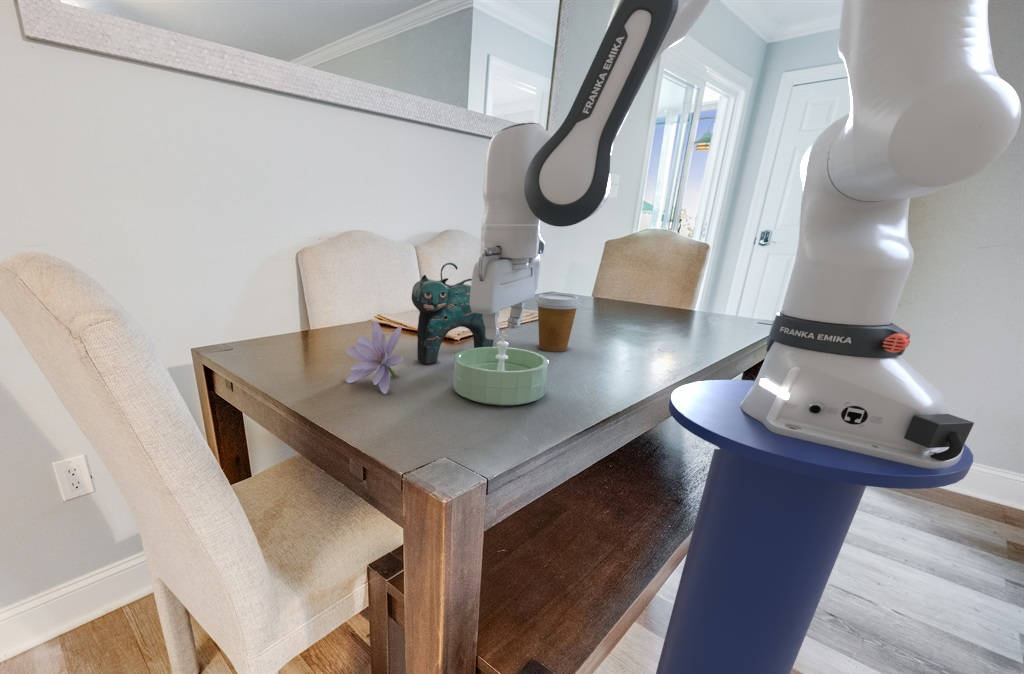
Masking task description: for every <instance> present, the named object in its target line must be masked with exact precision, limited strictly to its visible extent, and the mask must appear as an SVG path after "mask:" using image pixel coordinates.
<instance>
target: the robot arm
mask: <svg viewBox="0 0 1024 674" xmlns="http://www.w3.org/2000/svg"><path fill="white" fill-rule="evenodd" d="M710 2H711V0H614V2H613V5H612V9H611V12H610V16H609V19H608V22H607V25H606V29H605V32H604V35H603V38H602V40H601V42H600V45H599V47H598V49H597V51H596V53H595V56H594V57H593V60H592V62H591V64H590V66H589V68H588V71H587V73H586V75H585V77H584V79H583V82H582V83H581V86H580V88H579V90H578V92H577V95H576V96H575V99H574V101H573V103H572V105H571V107H570V109H569V111H568V114H567V115H566V117H565V119H564V120H563V122H562V123H561V125H560V126H559V128H558V129H557V130H556V131H555V132H554V133H551V132H550V131H548V130H547V129H545V128H544V126H543V125H542V124H540V123H537V122H522V123H517V124H513V125H509V126H506V127H504V128H502V129H501V130H499V131H498V132H496V133H495V134H494V135H493V136H492V137H491V138H490V141H489V143H488V146H487V149H486V155H485V162H484V171H483V184H482V198H483V204H484V212H483V216H482V219H481V226H480V250H479V253H480V254H479V257H478V260H477V261H476V262H475V263H474V266H473V268H472V269H473V270H472V275H471V279H472V281H470V282H471V283H470V285H471V291H470V308H471V311H472V312H473V313H480V314H483V316H482V318H483V322H484V325H485V328H486V331H485V337H486V338H487V339H491V340H494V341H495V340H496V339H499V338H498V337H499V335H500V330H501V329H500V328H501V327H499V324H498V318H499V316H500V312H501V311H503V310H505V309H508V308H510V313H509V317H507V327H508V328H509V329H514V330H516V329H518V328H520V326H521V321H522V315H523V313H524V310H525V307H526V305H525V304H526V302H527V301H530V300H531V299H534V298H535V295H536V293H537V289H538V284H539V277H540V271H541V256H543V255H544V254H545V248H546V243H545V241H544V240H543V238H542V237H541V234H540V230H541V229H540V227H541V222H542V223H544V224H546V225H549V226H553V227H561V228H562V227H563V228H564V227H571V226H574V225H576V224H580V223H581V222H583V221H585V220H588V219H589V218H590V217H592V216H594V215H595V214H597V212H599V211H600V209H601V208H602V207H603V205H605V203H606V201H607V200H608V197H609V193H610V191H611V187H612V186H611V184H612V180H611V174H610V173H611V156H612V151H613V148H614V146H615V145H614V144H615V142H616V139H617V137H618V134H619V132H620V130H621V128H622V127H623V125H624V122H625V120H626V119H627V116H628V114H629V112H630V110H631V107H632V106H633V104H634V102H635V100H636V98H637V97H638V94H639V92H640V90H641V89H642V86H643V83H644V82H645V80H646V78H647V76H648V74H649V73H650V71H651V70H652V68H653V66H654V65H655V63H656V62H657V60H658V59H659V58H660V57H661V56H662V55H663V54H664V53H665V51H667V50H668V49H669V48H671V47H673V46H675V45H677V44H679V43H680V42H681V41H683V40H684V39H685V38H686V37H687V36H688V34H689V33H690V32H691V31H692V30H693V28H694V27H695V25H696V23H697V22H698V21H699V19H700V18H701V16H702V15H703V13H704V12H705V11H706V8H707V7H708V6H709V3H710ZM837 53H838V55H839V57H840V58H841V60H842V61H843V62H844V65H845V69H846V73H847V79H848V89H849V97H850V98H849V99H850V111H849V113H847V114H844V115H843V116H842V117H840V118H838V119H836V120H835V121H834V122H832V123H831V124H830V125H828V126H827V127H826V128H825V129H824V130H823V131H822V132H821V133H820V134H819V135H818V136H817V137H816V138H815V139H814V140H813V142H812V143H811V144H810V145H809V146H808V147H807V150H806V151H805V153H804V155H803V157H802V160H801V163H800V169H799V172H800V179H801V182H802V195H801V203H800V206H801V207H800V214H799V215H800V216H799V230H798V242H797V249H796V254H795V258H794V263H793V266H792V271H791V273H790V277H789V281H788V284H787V288H786V292H785V296H784V299H783V302H782V305H781V310H780V311H777V313H776V314H775V318H774V320H773V321H772V323H771V326H770V330H769V334H768V338H767V340H766V341H767V342H766V349H765V351H766V352H767V353H766V355H765V357H764V361H763V363H762V364H761V367H760V369H759V371H758V374H757V376H756V378H755V380H754V381H755V382H754V384H753V385H752V387H751V389H750V391H749V392H748V394H747V395H746V397H745V398H744V400H743V401H742V402H741V404H740V406H741V409H742V410H743V411H744V412H745V413H747V414H748V415H749V416H751V417H753V418H755V419H757V420H758V421H760V422H762V423H763V424H764V426H765V427H766V428H767V429H768V430H770V431H771V432H773V433H776V434H780V435H784V436H788V437H793V438H797V439H801V440H805V441H810V442H814V443H818V444H823V445H827V446H831V447H835V448H840V449H844V450H848V451H853V452H857V453H861V454H865V455H870V456H874V457H878V458H883V459H887V460H891V461H896V462H900V463H904V464H908V465H913V466H917V467H922V468H927V469H940V468H947V467H950V466H953V465H955V464H956V463H958V462H959V460H960V459H961V456H962V453H963V449H964V447H963V445H964V444H965V443H966V441H967V439H968V437H969V435H970V433H971V431H972V429H973V426H974V424H975V422H974V421H971V420H969V419H965V418H962V417H959V416H956V415H954V414H953V415H952V414H950V413H948V406H947V401H946V399H945V396H944V394H943V393H942V391H941V390H939V389H938V388H937V387H936V386H935V385H933V384H932V382H930V381H929V380H928V379H926V377H925V376H923V375H922V374H921V373H920V372H919V371H918V370H916V369H915V368H914V367H913V366H912V365H911V364H910V363H909V362H907V361H906V360H905V359H904V358H903V357H902V356H903V354H904V353H905V351H906V349H907V348H908V346H909V345H910V343H911V340H910V337H911V332H910V331H909V330H908V329H905V330H904V329H903V328H901V327H899V326H898V325H897V324H895V323H893V319H894V316H895V313H896V311H897V308H898V305H899V303H900V299H901V298H902V295H903V291H904V289H905V286H906V284H907V281H908V278H909V276H910V273H911V271H912V268H913V266H914V261H915V251H914V248H913V246H912V245H911V242H910V237H909V212H910V204H911V199H916V198H921V197H924V196H928V195H931V194H934V193H937V192H939V191H942V190H944V189H948V188H950V187H952V186H954V185H957V184H959V183H961V182H964V181H965V180H968V179H970V178H972V177H974V176H976V175H977V174H979V173H981V172H982V171H984V170H985V169H987V168H988V167H990V165H992V164H993V163H994V162H995V161H996V160H998V159H999V157H1000V156H1002V155H1003V153H1004V152H1005V151H1006V150H1007V148H1009V146H1010V144H1011V143H1012V142H1013V140H1014V139H1015V136H1016V134H1017V132H1018V130H1019V127H1020V123H1021V119H1022V103H1021V100H1020V96H1019V95H1018V93H1017V91H1016V90H1015V89H1014V87H1013V86H1012V85H1011V84H1010V83H1008V82H1007V81H1005V80H1004V79H1003V78H1002V77H1000V75H999V74H998V71H997V69H996V65H995V61H994V55H993V48H992V43H991V35H990V26H989V0H842V5H841V13H840V21H839V30H838V39H837Z"/></svg>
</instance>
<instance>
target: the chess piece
mask: <svg viewBox="0 0 1024 674" xmlns="http://www.w3.org/2000/svg"><path fill="white" fill-rule="evenodd" d="M497 339H500V341H497V342H496V347H498V352H499V354H498V355H496V357H495V358H497V359H499V361H498V367H497V370H499V371H505V367H504V359H508V356H507V355H505V352H506V350H507V347H509V345H510V344H509V342H507V341H506V340H505V339H509V334H506V331H505V330H502V331H501V334H499V337H498V338H497Z"/></svg>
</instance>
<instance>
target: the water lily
mask: <svg viewBox="0 0 1024 674" xmlns="http://www.w3.org/2000/svg"><path fill="white" fill-rule="evenodd" d="M402 328H403V325H399V326H397V328H395V330H394V331H393V332H392V333H391V335H390V337H389V339H388V342H387V338H386V334H385V333H383V330H382V327H381V325H380V323H379V322H378V321H377V320H374V321H373V324H372V326H371V339H370V338H368V337H366V336H359V337H358V338H357V343H355V345H354V346H351V347H348V348H347V350H346V351H347V353H348V355H349V356H350V357H352V358H353V359H355V360H357V361H361V362H358V363H355V364H353V365H351V367H349V369H350V370H352V372H350V373H349V375H348V376H347V378H346V379H345V382H346V383H347V384H351V383H355V382H358V381H361V380H362V379H365V378H366V377H368V376H371V374H373V373H374V372H375V373H374V375H373V377H372V383H373V385H374V386H377V385H378V388H379V390H380V391H381V393H383V394H384V395H386V394H387V393H388V391H389V388H390V384H391V376H392V378H396V377H397V374H396V373H395V371H394V370H393V368H392V367H394V366H397V365H398V364H400V363H402V362H403V361H404V357H403V356H402V355H401V354H394V355H392V353H393V351H394V350H395V348H396V346H397V344H398V342H399V339H400V337H401V333H402V330H403V329H402ZM391 355H392V356H391Z"/></svg>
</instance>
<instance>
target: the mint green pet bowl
mask: <svg viewBox="0 0 1024 674" xmlns="http://www.w3.org/2000/svg"><path fill="white" fill-rule="evenodd" d="M498 354H499V352H498V347H497V346H492V347H479V348H474V347H472V348H466V349H463V350H460V351H459V352H457V353H456V354H455V356H454V358H453V359H454V361H453V388H454V391H455V393H457V394H458V395H459V396H461V397H463V398H466V399H468V400H470V401H473V402H476V403H480V404H484V405H491V406H500V407H501V406H506V407H507V406H519V405H525V404H530V403H532V402H535V401H538V400H541V398H543V397H544V396H545V394H546V388H547V387H546V386H547V380H548V379H547V378H548V377H547V376H548V369H549V359H548V358H547V357H546V356H545V355H542V354H540V353H538V352H536V351H533V350H527V349H523V348H516V347H509V346H508V347H507V350H506V352H505V355H507V356H508V359H504V367H505V371H499V370H497V367H498V361H499V359H497V358H495V357H496V355H498Z"/></svg>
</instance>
